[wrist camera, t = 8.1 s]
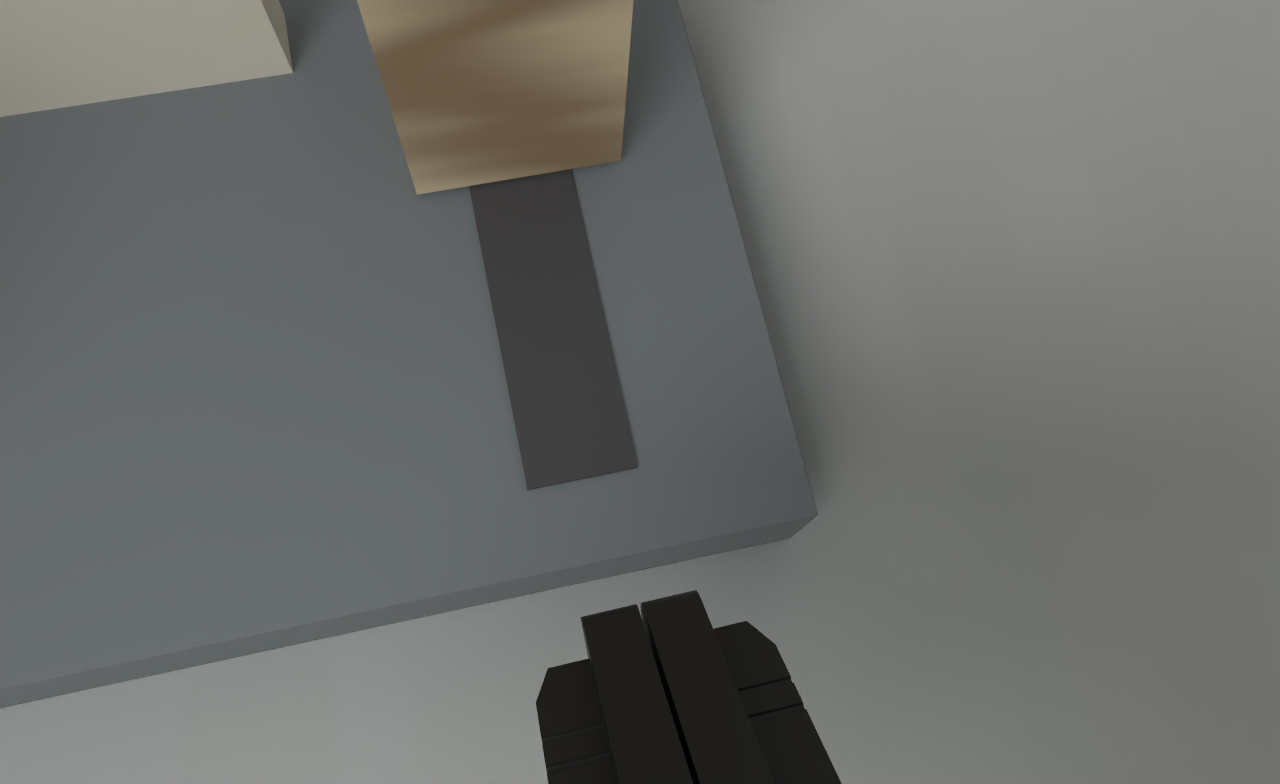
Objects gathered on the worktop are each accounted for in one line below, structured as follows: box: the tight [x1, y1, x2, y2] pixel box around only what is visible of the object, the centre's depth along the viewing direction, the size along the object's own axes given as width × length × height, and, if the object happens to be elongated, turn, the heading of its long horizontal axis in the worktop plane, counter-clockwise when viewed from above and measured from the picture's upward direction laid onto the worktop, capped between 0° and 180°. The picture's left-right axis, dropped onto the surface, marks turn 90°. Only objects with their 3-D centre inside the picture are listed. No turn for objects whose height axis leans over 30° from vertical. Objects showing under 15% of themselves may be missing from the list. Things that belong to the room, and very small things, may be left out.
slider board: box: [0, 0, 818, 708], centre depth 17 cm, size 24×13×10 cm, turn 102°
